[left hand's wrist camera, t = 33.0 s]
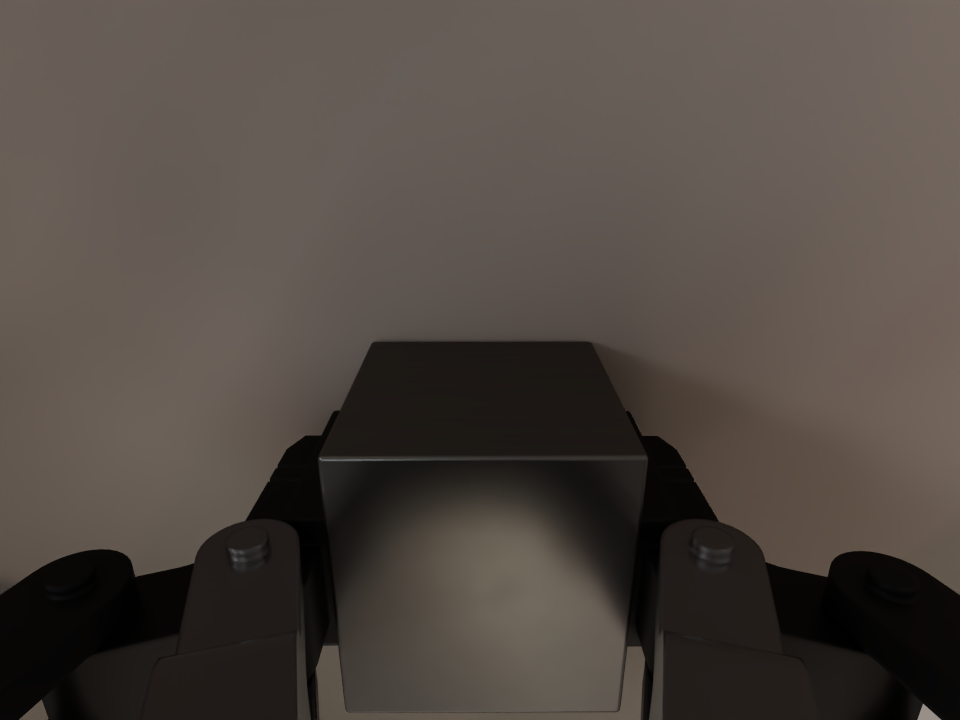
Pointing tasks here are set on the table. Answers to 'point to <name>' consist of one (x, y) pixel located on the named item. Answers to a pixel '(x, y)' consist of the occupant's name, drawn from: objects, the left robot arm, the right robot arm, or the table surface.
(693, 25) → the table surface
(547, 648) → the metal block
